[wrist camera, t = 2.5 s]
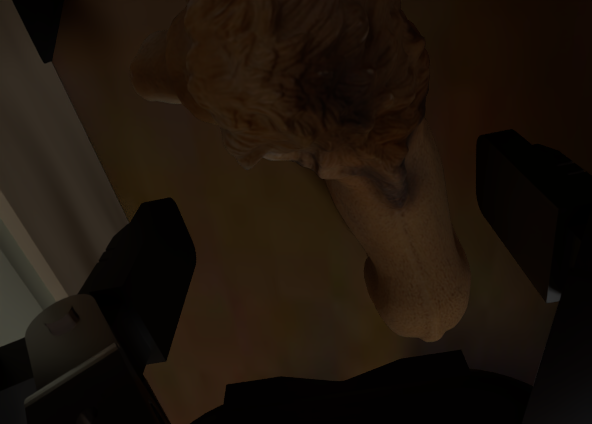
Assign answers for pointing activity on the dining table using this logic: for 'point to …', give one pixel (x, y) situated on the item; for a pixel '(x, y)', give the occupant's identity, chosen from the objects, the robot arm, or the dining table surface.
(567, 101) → the dining table surface
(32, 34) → the cell phone
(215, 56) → the lion figurine
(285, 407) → the robot arm
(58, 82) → the plinth
